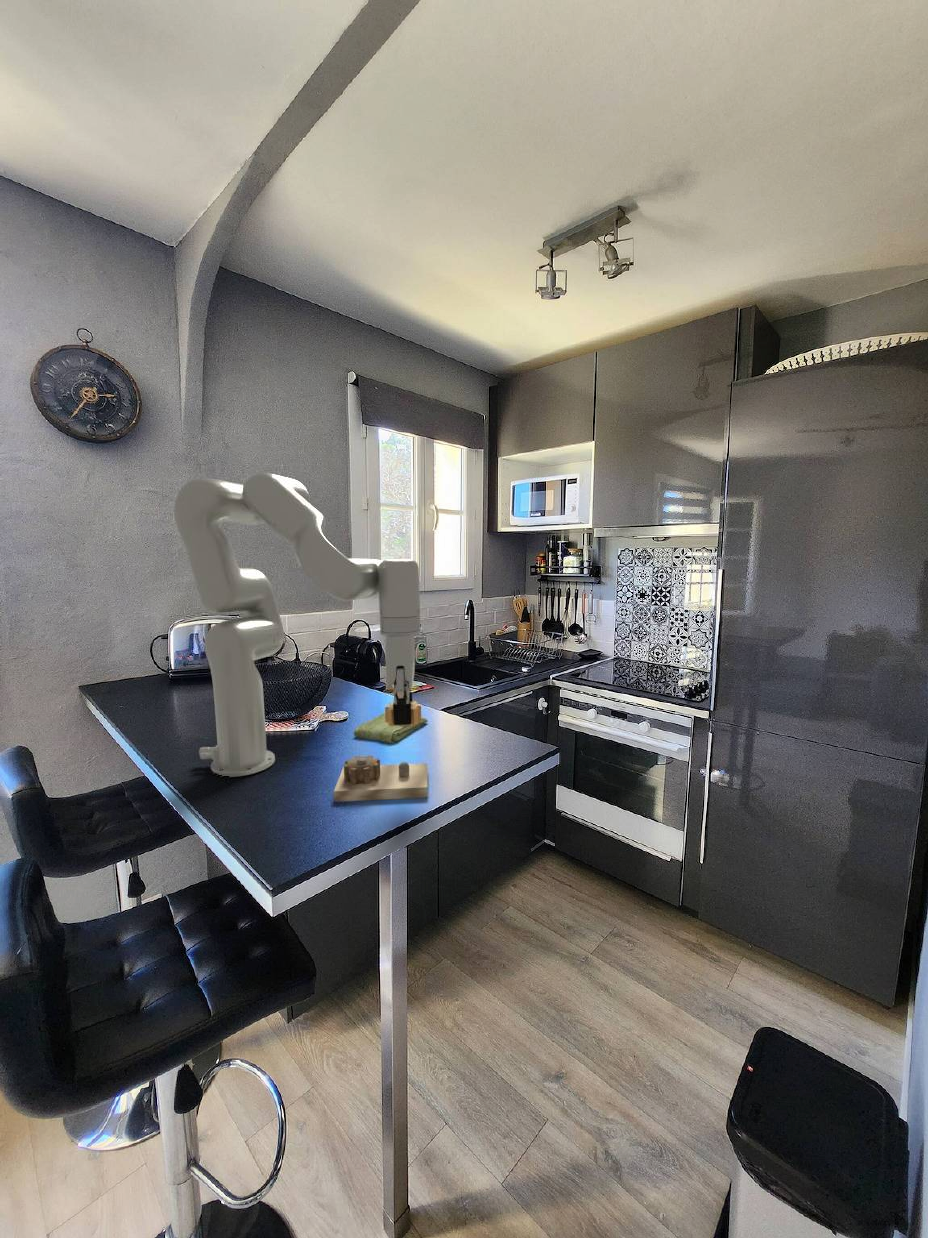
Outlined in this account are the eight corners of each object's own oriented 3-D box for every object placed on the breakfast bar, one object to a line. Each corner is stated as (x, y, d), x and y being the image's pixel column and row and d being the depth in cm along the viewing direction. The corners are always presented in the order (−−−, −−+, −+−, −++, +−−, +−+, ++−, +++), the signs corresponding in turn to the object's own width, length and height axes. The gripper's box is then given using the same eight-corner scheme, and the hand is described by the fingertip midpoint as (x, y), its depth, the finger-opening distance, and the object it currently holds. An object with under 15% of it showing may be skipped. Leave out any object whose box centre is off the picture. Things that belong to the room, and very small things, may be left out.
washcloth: (430, 724, 135) (429, 712, 135) (394, 747, 119) (393, 733, 119) (388, 718, 141) (388, 707, 140) (349, 739, 125) (348, 726, 124)
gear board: (334, 801, 92) (332, 773, 91) (344, 776, 102) (342, 750, 102) (427, 797, 93) (427, 769, 92) (427, 772, 104) (427, 746, 103)
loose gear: (384, 727, 93) (383, 711, 92) (387, 716, 99) (386, 701, 99) (421, 726, 93) (420, 710, 93) (421, 714, 100) (421, 700, 99)
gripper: (384, 620, 102) (387, 705, 105) (375, 632, 85) (379, 734, 87) (421, 619, 103) (423, 704, 105) (419, 631, 86) (422, 732, 88)
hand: (403, 717), depth 96 cm, fingers closed on loose gear, 6 cm apart
